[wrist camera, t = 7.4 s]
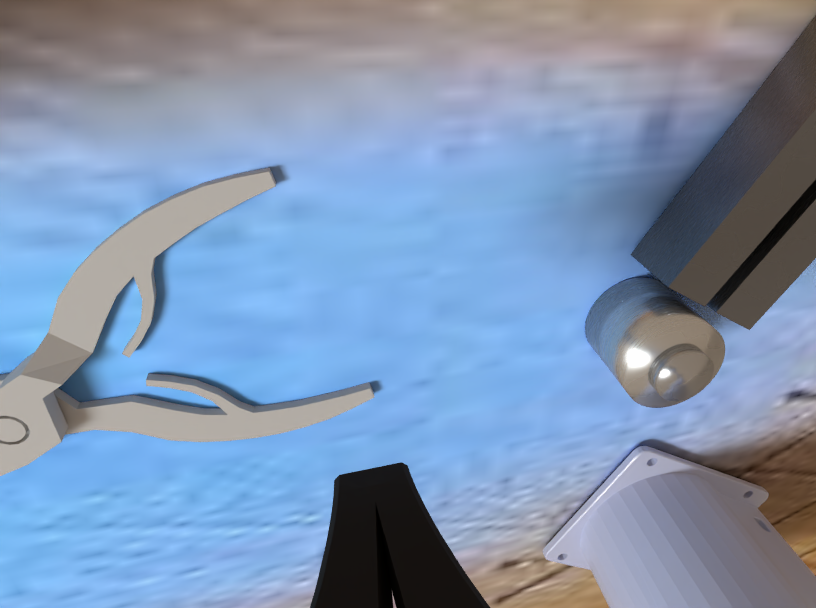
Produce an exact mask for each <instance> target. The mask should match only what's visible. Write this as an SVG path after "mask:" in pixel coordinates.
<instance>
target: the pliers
mask: <svg viewBox="0 0 816 608" xmlns="http://www.w3.org/2000/svg"><path fill="white" fill-rule="evenodd" d="M275 186H276V181H275V179H274V176H273V174H272V172H271V170H270V168H264V169H259V170H254V171H249V172H244V173H239V174H234V175H231V176H227V177H223V178H219V179H215V180H212V181H208V182H204V183H202V184H199V185H197V186H194V187H192V188H189V189H187V190H184V191H182V192H180V193H177V194H175V195H173V196H171V197H169V198H167V199H165V200H163V201H161V202H159V203H157V204H155V205H153V206H151V207H150V208H148V209H146V210H144V211H143V212H141V213H140V214H138V215H137V216H136V217H134V218H133V219H131V220H130V221H128V222H127V223H126V224H124V225H123V226H121V227H120V228H119V229H118V230H116V231H115V232H114V233H113V234H112V235H110V236H109V237H108V238H107V239H106V240H105V241H103V242H102V243H101V244H100V245H99V246H97V247H96V249H95V250H94V251H93V252H92V253H91V254H90V255H89V256H88V257H87V258H86V259H85V260H84V262H83V263H82V264H81V265H80V266H79V267H78V268H77V269H76V271H75V272H74V274H73V275H72V277H71V279H70V280H69V282H68V283H67V285H66V286H65V288H64V289H63V291H62V293H61V294H60V296H59V297H58V300H57V303H56V307H55V310H54V314H53V318H52V321H51V325H50V328H49V332H48V334H47V335H46V337H45V338H44V340H43V341H42V343H41V344H40V346H39V347H38V349H37V350H36V352H34V353H33V354H31V355H30V356H28V357H27V358H26V359H25V360H24V361H23V362H21V363H20V364H19V365H18V366H17V367H16V368H15V369H14V370H13V371H12V372H11V373H8V374H0V476H2V475H4V474H6V473H9V472H11V471H14V470H16V469H18V468H21V467H23V466H25V465H28V464H29V463H31V462H32V461H34V460H35V459H37V458H38V457H40V456H41V455H42V454H44V453H45V452H47V451H48V450H50V449H51V448H53V447H54V446H56V445H57V444H59V443H60V442H62V439H63V437H64V435H65V434H71V433H78V432H84V431H90V430H108V431H125V432H134V433H139V434H143V435H148V436H153V437H157V438H162V439H167V440H175V441H192V442H212V441H231V440H240V439H249V438H257V437H263V436H269V435H274V434H280V433H284V432H288V431H292V430H295V429H299V428H303V427H307V426H310V425H312V424H315V423H318V422H321V421H324V420H327V419H330V418H332V417H335V416H337V415H339V414H341V413H343V412H346V411H348V410H350V409H352V408H354V407H356V406H358V405H360V404H362V403H364V402H366V401H368V400H370V399H372V398H374V393H373V390H372V387H371V385H370V383H369V382H368V383H364V384H361V385H358V386H354V387H351V388H347V389H343V390H339V391H335V392H331V393H327V394H323V395H319V396H314V397H310V398H306V399H301V400H296V401H290V402H283V403H276V404H269V405H261V406H252V405H249V404H246V403H243V402H241V401H239V400H237V399H235V398H234V397H232V396H231V395H229V394H227V393H226V392H224V391H223V390H221V389H219V388H217V387H214V386H212V385H209V384H207V383H204V382H201V381H199V380H196V379H190V378H185V377H179V376H173V375H162V374H150V373H148V376H147V379H146V385H147V386H155V387H166V388H173V389H178V390H183V391H188V392H192V393H195V394H197V395H199V396H202V397H204V398H206V399H209V400H211V401H213V402H214V403H215V404H216V405H217V406H219V407H220V408H199V407H193V406H187V405H181V404H175V403H170V402H166V401H161V400H156V399H151V398H146V397H141V396H136V395H129V396H122V397H115V398H108V399H101V400H94V401H86V402H78V401H77V400H75V399H74V398H72V397H71V396H69V395H68V394H66V393H65V392H63V391H62V390H60V389H59V388H58V387H60V386H61V385H63V383H64V382H65V381H66V380H67V379H68V378H69V377H70V376H71V375H72V374H73V373H74V372H75V371H76V370H77V369H78V368H79V367H80V366H81V365H82V364H83V363H84V361H85V360H86V359H87V358H88V357H89V356H90V355H91V354H92V353H93V351H94V349H95V347H96V344H97V342H98V339H99V337H100V334H101V332H102V329H103V327H104V324H105V321H106V319H107V316H108V314H109V311H110V309H111V307H112V305H113V303H114V301H115V299H116V297H117V295H118V293H119V292H120V291H121V290H122V289H123V288H124V286H125V285H126V284H127V283H128V282H129V281H130V280H131V278H132V277H133V276H134V278H135V281H136V284H137V286H138V289H139V292H140V294H141V297H142V314H141V321H140V323H139V326H138V328H137V330H136V332H135V334H134V335H133V336H132V338H131V339H130V341H129V342H128V344H127V345H126V347H125V348H124V351H123V353H122V354H123V355H125V356H127V357H130V356H131V355H132V353H133V352H134V350H135V349H136V348H137V346H138V345H139V344H140V342H141V341H142V339H143V337H144V335H145V333H146V331H147V329H148V328H149V326H150V324H151V321H152V319H153V315H154V308H155V302H156V296H157V293H156V285H155V277H154V264H155V258H156V256H158V255H159V254H160V253H162V252H163V251H164V250H166V249H167V248H168V247H170V246H171V245H172V244H174V243H175V242H176V241H178V240H179V239H181V238H182V237H183V236H185V235H186V234H188V233H189V232H191V231H192V230H193V229H195V228H196V227H198V226H200V225H202V224H204V223H205V222H207V221H209V220H211V219H212V218H214V217H216V216H218V215H220V214H222V213H223V212H225V211H227V210H229V209H231V208H233V207H234V206H236V205H238V204H240V203H242V202H244V201H246V200H248V199H250V198H252V197H254V196H256V195H258V194H260V193H262V192H264V191H267V190H269V189H271V188H273V187H275Z"/></svg>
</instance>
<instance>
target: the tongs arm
mask: <svg viewBox="0 0 816 608" xmlns="http://www.w3.org/2000/svg"><path fill="white" fill-rule="evenodd" d="M815 179H816V16H815V18H814V19H813V20H812V21H811V23H810V24H809V25H808V27H807V28H806V29H805V31H804V32H803V33H802V34H801V36H800V37H799V38H798V40H797V41H796V42H795V43H794V45H793V46H792V47H791V49H790V50H789V51H788V52H787V54H786V55H785V56H784V58H783V59H782V60H781V61H780V63H779V64H778V65H777V67H776V68H775V69H774V70H773V72H772V73H771V74H770V76H769V77H768V78H767V79H766V81H765V82H764V83H763V85H762V86H761V87H760V89H759V90H758V91H757V92H756V94H755V95H754V96H753V98H752V99H751V100H750V101H749V103H748V104H747V105H746V107H745V108H744V109H743V110H742V112H741V113H740V114H739V116H738V117H737V118H736V119H735V121H734V122H733V123H732V125H731V126H730V127H729V128H728V130H727V131H726V132H725V134H724V135H723V136H722V138H721V139H720V140H719V141H718V143H717V144H716V145H715V147H714V148H713V149H712V150H711V152H710V153H709V154H708V156H707V157H706V158H705V159H704V161H703V162H702V163H701V165H700V166H699V167H698V168H697V170H696V171H695V172H694V174H693V175H692V176H691V177H690V179H689V180H688V181H687V183H686V184H685V185H684V186H683V188H682V189H681V190H680V192H679V193H678V194H677V196H676V197H675V198H674V199H673V201H672V202H671V203H670V205H669V206H668V207H667V208H666V210H665V211H664V212H663V214H662V215H661V216H660V217H659V219H658V220H657V221H656V223H655V224H654V225H653V226H652V228H651V229H650V230H649V232H648V233H647V234H646V235H645V237H644V238H643V239H642V241H641V242H640V243H639V245H638V246H637V247H636V248H635V250H634V251H633V252H632V254H631V255H632V256H633V257H634V258H635V259H636V260H637V261H638V262H640V263H641V264H642V265H643V266H644V267H645V268H647V269H648V270H649V271H650V272H651V273H652V274H653V275H655V276H656V277H657V278H658V279H659V280H660V281H662V282H663V283H664V284H665V285H666V286H667V287H669V288H670V289H672V290H674V291H676V292H678V293H680V294H682V295H684V296H686V297H688V298H689V299H691V300H693V301H695V302H697V303H699V304H701V305H703V306H706V304H707V303H708V302H709V301H710V300H711V299H712V298H713V296H714V295H715V294H716V293H717V292H718V291H719V290H720V288H721V287H722V286H723V285H724V284H725V283H726V282H727V280H728V279H729V278H730V277H731V276H732V275H733V273H734V272H735V271H736V270H737V269H738V268H739V267H740V265H741V264H742V263H743V262H744V261H745V260H746V259H747V257H748V256H749V255H750V254H751V253H752V252H753V251H754V249H755V248H756V247H757V246H758V245H759V244H760V243H761V241H762V240H763V239H764V238H765V237H766V236H767V234H768V233H769V232H770V231H771V230H772V229H773V228H774V226H775V225H776V224H777V223H778V222H779V221H780V220H781V218H782V217H783V216H784V215H785V214H786V213H787V212H788V210H789V209H790V208H791V207H792V206H793V205H794V204H795V202H796V201H797V200H798V199H799V198H800V197H801V195H802V194H803V193H804V192H805V191H806V190H807V189H808V187H809V186H810V185H811V184H812V183H813V182H814V181H815Z"/></svg>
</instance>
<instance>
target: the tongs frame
mask: <svg viewBox="0 0 816 608" xmlns="http://www.w3.org/2000/svg"><path fill="white" fill-rule="evenodd" d="M815 258H816V179H815V181H814V182H813V183H812V184H811V185H810V186H809V187H808V189H807V190H806V191H805V192H804V193H803V194H802V195H801V197H800V198H799V199H798V200H797V201H796V202H795V204H794V205H793V206H792V207H791V208H790V209H789V210H788V212H787V213H786V214H785V215H784V216H783V217H782V218H781V220H780V221H779V222H778V223H777V224H776V225H775V226H774V228H773V229H772V230H771V231H770V232H769V233H768V234H767V236H766V237H765V238H764V239H763V240H762V241H761V243H760V244H759V245H758V246H757V247H756V248H755V249H754V251H753V252H752V253H751V254H750V255H749V256H748V257H747V259H746V260H745V261H744V262H743V263H742V264H741V265H740V267H739V268H738V269H737V270H736V271H735V272H734V273H733V275H732V276H731V277H730V278H729V279H728V280H727V282H726V283H725V284H724V285H723V286H722V287H721V288H720V290H719V291H718V292H717V293H716V294H715V295H714V296H713V298H712V299H711V300H710V301H709V302H708V303H707V304H706V305H708V306H709V307H710V308H711V309H712V310H714V311H715V312H716V313H718V314H720V315H722V316H724V317H726V318H728V319H730V320H731V321H733V322H735V323H737V324H739V325H741V326H743V327H745V328H747V329H749V330H750V329H751V328H752V327H753V326H754V324H755V323H756V322H757V321H758V320H759V319H760V318H761V317H762V316H763V315H764V314H765V312H766V311H767V310H768V309H769V308H770V307H771V306H772V305H773V304H774V303H775V302H776V301H777V299H778V298H779V297H780V296H781V295H782V294H783V293H784V292H785V291H786V290H787V289H788V288H789V286H790V285H791V284H792V283H793V282H794V281H795V280H796V279H797V278H798V277H799V276H800V274H801V273H802V272H803V271H804V270H805V269H806V268H807V267H808V266H809V265H810V264H811V263H812V261H813V260H814V259H815ZM585 334H586V338H587V341H588V342H589V344H590V345H591V347H592V348H593V349H594V351H595V352H596V353H597V354H598V356H599V357H600V358H601V360H602V361H603V362H604V363H605V365H606V366H607V367H608V369H609V370H610V371H611V372H612V374H613V375H614V376H615V378H616V379H617V380H618V381H619V383H620V384H621V385H622V387H623V388H624V389H625V390H626V392H627V393H628V394H629V396H630V397H631V398H632V399H633V400H634V401H635V402H637V403H638V404H640V405H643V406H646V407H651V408H661V407H668V406H672V405H676V404H678V403H681V402H683V401H685V400H687V399H689V398H691V397H693V396H694V395H696V394H697V393H699V392H700V391H701V390H703V389H704V388H705V387H706V386H707V385H708V384H709V383H710V382H711V381H712V379H713V378H714V377H715V375H716V374H717V373H718V371H719V369H720V367H721V365H722V362H723V359H724V355H725V344H724V340H723V338H722V336H721V335H720V333H719V332H718V331H717V330H716V329H715V328H713V327H712V326H711V325H710V324H709V323H708V322H707V321H705V320H704V319H703V318H702V317H701V316H700V315H698V314H697V313H696V312H695V311H694V310H693V309H692V308H690V307H689V306H688V305H687V304H686V303H685V302H684V301H682V300H681V299H680V298H679V297H678V296H677V295H676V294H674V293H673V292H672V291H671V290H670V289H669V288H667V287H666V286H665V285H664V284H663V283H661V282H660V281H658V280H656V279H652V278H647V277H638V278H632V279H628V280H625V281H622V282H620V283H618V284H616V285H614V286H613V287H611V288H609V289H608V290H607V291H606V292H604V293H603V294H602V295H601V296H600V297H599V298H598V299H597V300H596V302H595V303H594V304H593V306H592V307H591V309H590V311H589V313H588V316H587V319H586V322H585Z"/></svg>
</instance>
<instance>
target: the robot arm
mask: <svg viewBox="0 0 816 608" xmlns="http://www.w3.org/2000/svg"><path fill="white" fill-rule="evenodd" d="M768 496H769V493H768V492H767V491H766V490H765V489H764V488H763V487H761V486H758V485H755V484H752V483H750V482H747V481H744V480H741V479H738V478H736V477H733V476H730V475H727V474H724V473H721V472H719V471H716V470H713V469H710V468H707V467H705V466H702V465H699V464H696V463H693V462H691V461H688V460H685V459H682V458H679V457H676V456H674V455H671V454H668V453H665V452H662V451H660V450H657V449H654V448H651V447H648V446H640V447H638V448H636V449H635V450H633V451H632V453H631V454H630V455H629V456H628V457H627V458H626V459H625V460H624V461H623V462H622V463H621V465H620V466H619V467H618V468H617V469H616V470H615V471H614V472H613V473H612V474H611V475H610V477H609V478H608V479H607V480H606V481H605V482H604V483H603V484H602V485H601V486H600V487H599V489H598V490H597V491H596V492H595V493H594V494H593V495H592V496H591V497H590V498H589V499H588V501H587V502H586V503H585V504H584V505H583V506H582V507H581V508H580V509H579V510H578V511H577V513H576V514H575V515H574V516H573V517H572V518H571V519H570V520H569V521H568V522H567V523H566V525H565V526H564V527H563V528H562V529H561V530H560V531H559V532H558V533H557V534H556V535H555V537H554V538H553V539H552V540H551V541H550V542H549V543H548V544H547V545H546V546H545V548H544V549H543V553H544V556H545V558H546V559H547V560H549V561H553V562H558V563H562V564H567V565H571V566H576V567H580V568H585V569H589V570H591V571H592V573H593V575H594V577H595V579H596V581H597V583H598V585H599V587H600V589H601V591H602V593H603V595H604V597H605V599H606V601H607V603H608V606H609V608H816V576H815V575H814V574H813V573H812V572H811V570H810V569H809V568H808V567H807V566H806V564H805V563H804V562H803V561H802V560H801V559H800V557H799V556H798V555H797V554H796V553H795V552H794V550H793V549H792V548H791V547H790V546H789V544H788V543H787V542H786V541H785V540H784V539H783V537H782V536H781V535H780V534H779V533H778V532H777V530H776V529H775V528H774V527H773V526H772V525H771V523H770V522H769V521H768V520H767V519H766V517H765V516H764V515H763V514H762V513H761V512H760V510H759V509H758V507H759V506H760V505H762V504H763V503H764V502H765V501H766V500H767V499H768ZM392 592H393V596H394V600H395V604H396V608H490V607H489V605H488V604H487V603H486V601H485V600H484V599H483V597H482V596H481V594H480V593H479V591H478V590H477V589H476V587H475V586H474V584H473V583H472V582H471V580H470V579H469V577H468V576H467V574H466V573H465V571H464V570H463V568H462V567H461V566H460V564H459V563H458V561H457V559H456V558H455V556H454V555H453V553H452V551H451V550H450V548H449V547H448V545H447V543H446V542H445V540H444V539H443V537H442V535H441V534H440V532H439V530H438V529H437V527H436V525H435V524H434V522H433V520H432V518H431V516H430V514H429V513H428V511H427V509H426V507H425V505H424V503H423V501H422V499H421V497H420V495H419V493H418V491H417V489H416V487H415V484H414V482H413V479H412V477H411V474H410V472H409V468H408V466H407V465H405V464H404V463H402V462H401V463H396V464H392V465H387V466H382V467H377V468H372V469H367V470H362V471H357V472H352V473H347V474H342V475H339V476H338V477H337V478H336V479H335V480H334V497H333V507H332V514H331V520H330V526H329V531H328V537H327V542H326V547H325V551H324V555H323V560H322V564H321V568H320V573H319V577H318V581H317V585H316V589H315V593H314V596H313V599H312V603H311V606H310V608H393V599H392Z"/></svg>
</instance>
